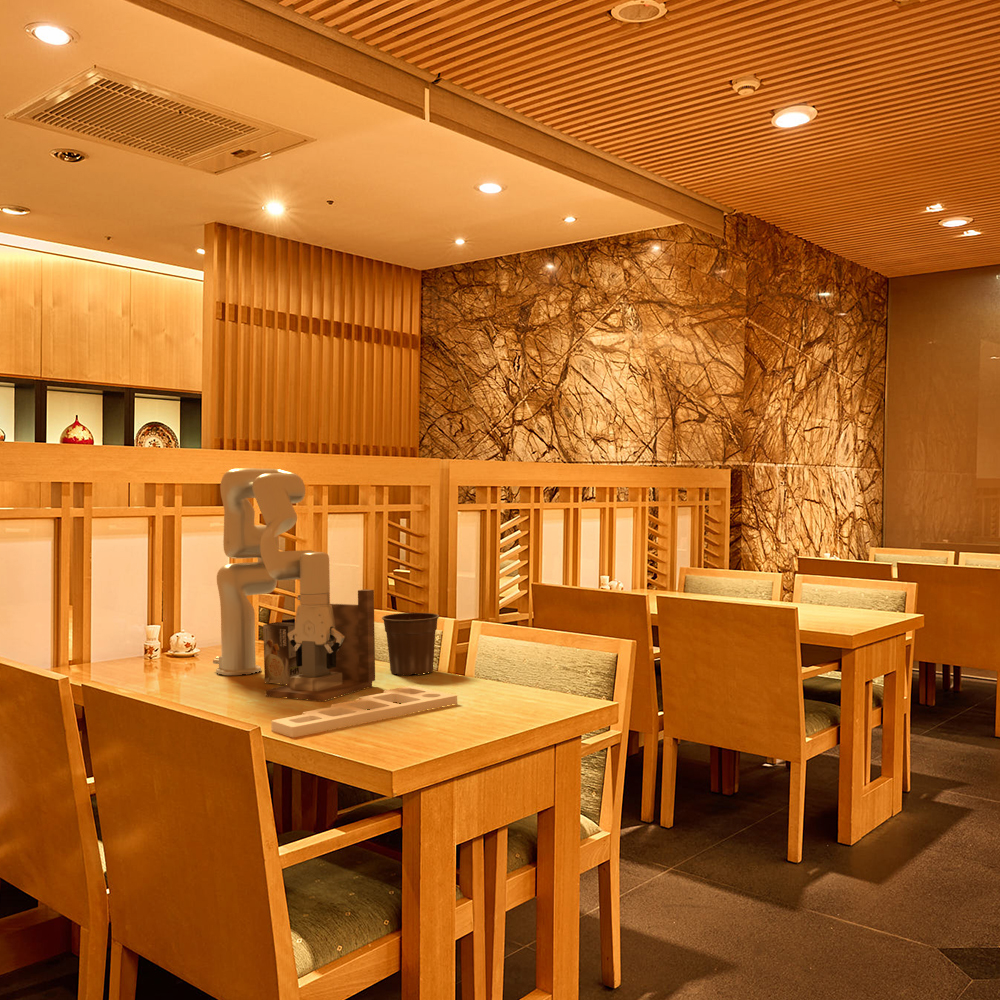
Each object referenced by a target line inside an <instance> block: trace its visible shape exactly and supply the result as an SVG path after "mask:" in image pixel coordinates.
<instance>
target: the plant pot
mask: <svg viewBox="0 0 1000 1000" xmlns="http://www.w3.org/2000/svg"><path fill="white" fill-rule="evenodd" d="M381 618H382V619H381V620H382V621H383V624H384V625H383V627H384V631H385V633H386V641H387V651H388V657H389V667H390V668H389V671H390V674H392V673H393V675H395V674H397V675H396V676H401V675H403V676H405V675H410V676H412V675H416V674H422V675H424V674H423V673H428V672H430V673H433V672H434V661H435V645H436V644H435V643H436V631H437V629H438V628H437V627H438V619H439V618H440V615H439V614H438V613H430V612H399V613H393V614H388V615H383V616H382V617H381ZM428 674H429V673H428Z"/></svg>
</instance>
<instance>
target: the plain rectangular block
mask: <svg viewBox="0 0 1000 1000" xmlns="http://www.w3.org/2000/svg"><path fill="white" fill-rule="evenodd" d="M327 653H329V652H328V650H327V649H326V647H325V646H324V645H321V646H317V645H315V642H312V641H302V677H310V678H318V677H322V676H325V675H329V669H327V660H326V654H327Z"/></svg>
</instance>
